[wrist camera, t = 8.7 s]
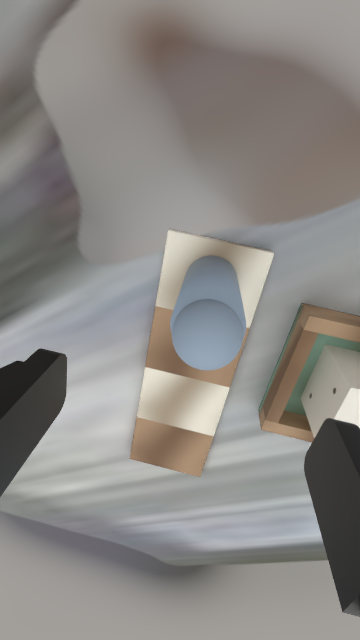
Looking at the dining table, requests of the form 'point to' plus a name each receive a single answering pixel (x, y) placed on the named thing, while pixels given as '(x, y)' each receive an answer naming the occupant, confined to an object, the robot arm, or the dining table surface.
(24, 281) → the dining table surface
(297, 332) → the tray
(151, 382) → the board
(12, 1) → the dining table surface
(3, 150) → the dining table surface
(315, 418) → the die
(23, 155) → the dining table surface
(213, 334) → the pale blue capsule
